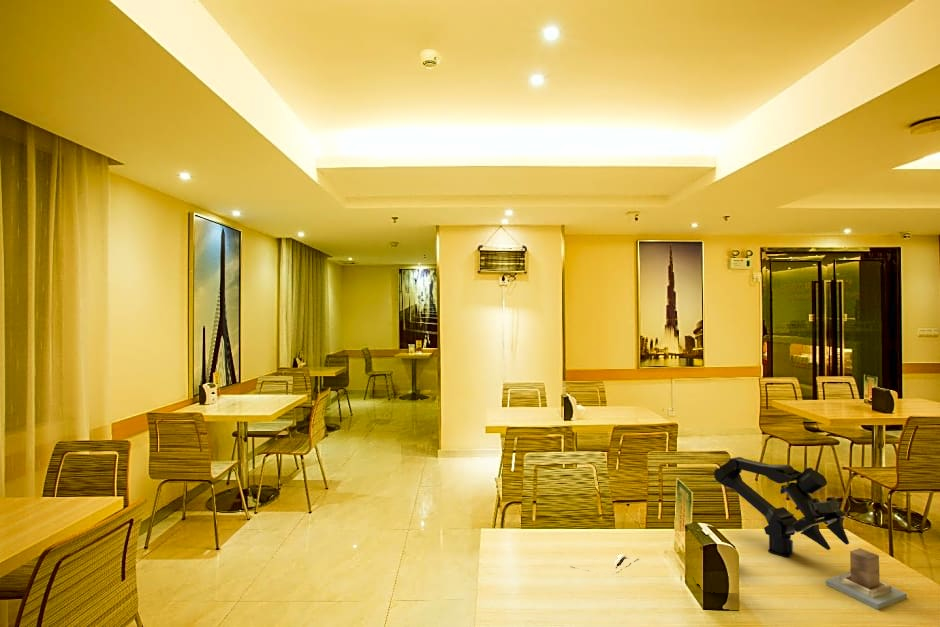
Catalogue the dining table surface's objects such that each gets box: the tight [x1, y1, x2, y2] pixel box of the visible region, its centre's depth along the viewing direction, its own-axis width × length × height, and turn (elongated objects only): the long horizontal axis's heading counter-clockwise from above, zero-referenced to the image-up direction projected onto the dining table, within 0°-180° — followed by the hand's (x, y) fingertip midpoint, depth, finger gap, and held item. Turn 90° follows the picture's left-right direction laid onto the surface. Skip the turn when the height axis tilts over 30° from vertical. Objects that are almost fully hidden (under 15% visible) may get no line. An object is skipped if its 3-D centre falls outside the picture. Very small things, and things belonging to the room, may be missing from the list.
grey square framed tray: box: [825, 571, 908, 610], centre depth 146 cm, size 14×14×3 cm
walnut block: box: [849, 548, 881, 590], centre depth 146 cm, size 5×5×10 cm
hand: (838, 546), depth 153 cm, fingers open, 9 cm apart
